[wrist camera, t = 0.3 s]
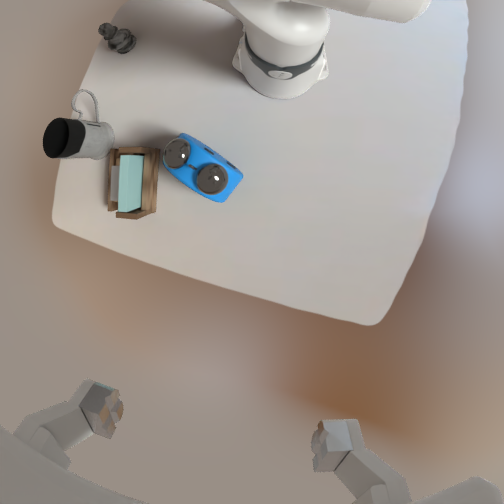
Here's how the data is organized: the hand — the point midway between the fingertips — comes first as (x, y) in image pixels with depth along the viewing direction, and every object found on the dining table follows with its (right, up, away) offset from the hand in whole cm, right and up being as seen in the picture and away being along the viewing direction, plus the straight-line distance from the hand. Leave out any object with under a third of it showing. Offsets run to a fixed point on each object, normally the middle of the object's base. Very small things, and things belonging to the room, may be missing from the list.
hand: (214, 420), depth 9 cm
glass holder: (-31, +34, +40) cm, 61 cm away
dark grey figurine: (-27, +53, +34) cm, 69 cm away
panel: (-20, +21, +42) cm, 51 cm away
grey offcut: (-25, +20, +40) cm, 51 cm away
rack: (-23, +22, +43) cm, 53 cm away
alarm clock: (-6, +23, +42) cm, 48 cm away
